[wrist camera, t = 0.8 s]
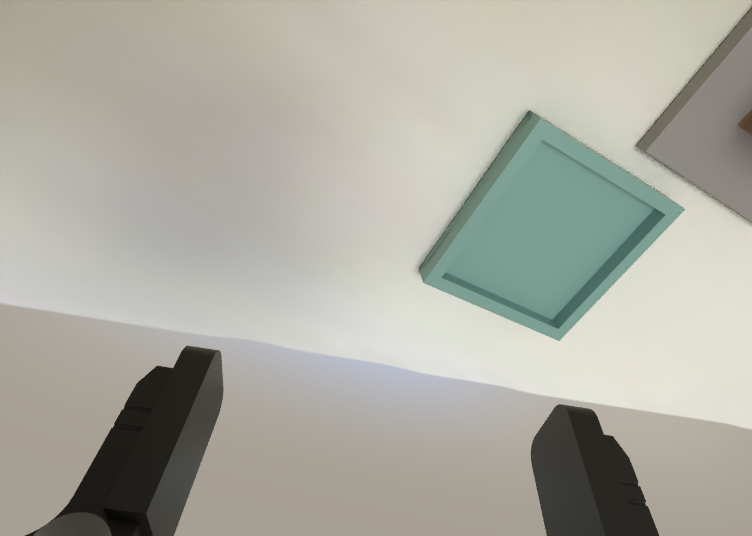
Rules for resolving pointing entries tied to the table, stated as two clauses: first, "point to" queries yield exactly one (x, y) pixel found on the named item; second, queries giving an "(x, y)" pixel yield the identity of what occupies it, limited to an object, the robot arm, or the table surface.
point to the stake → (712, 125)
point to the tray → (546, 231)
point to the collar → (747, 123)
